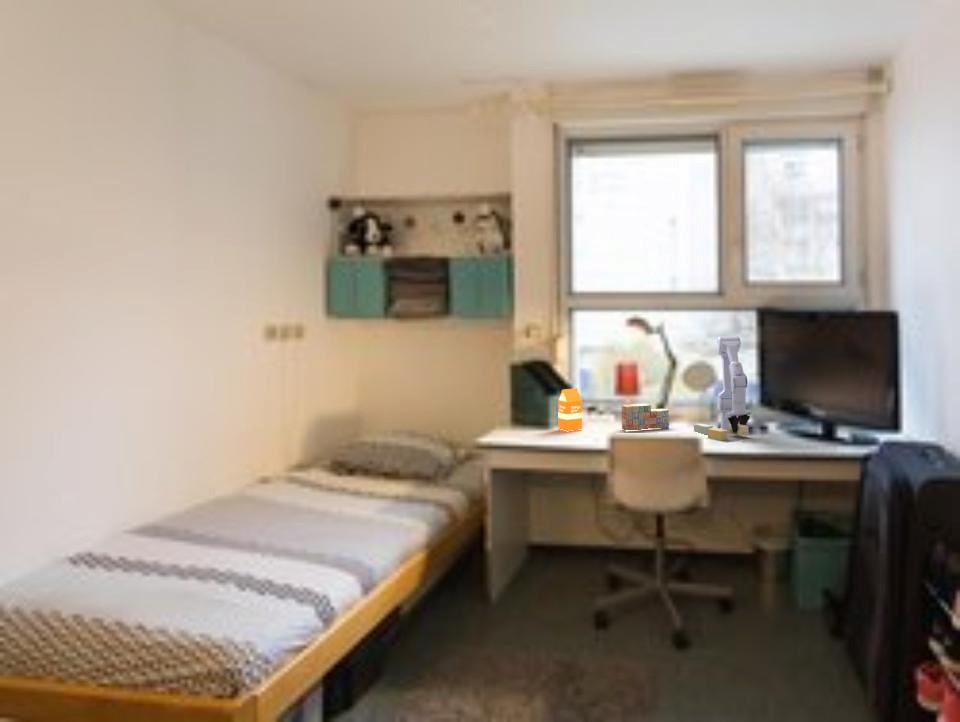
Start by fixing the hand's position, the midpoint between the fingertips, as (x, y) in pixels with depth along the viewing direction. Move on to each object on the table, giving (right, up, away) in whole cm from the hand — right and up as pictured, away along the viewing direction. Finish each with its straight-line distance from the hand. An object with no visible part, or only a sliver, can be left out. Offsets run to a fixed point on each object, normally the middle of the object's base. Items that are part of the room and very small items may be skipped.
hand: (738, 431), depth 397 cm
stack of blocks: (-37, -1, +26) cm, 45 cm away
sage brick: (-13, -2, +10) cm, 17 cm away
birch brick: (0, -1, 0) cm, 1 cm away
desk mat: (-8, -3, +4) cm, 9 cm away
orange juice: (-73, -2, +29) cm, 78 cm away
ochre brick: (-10, -3, -2) cm, 11 cm away
